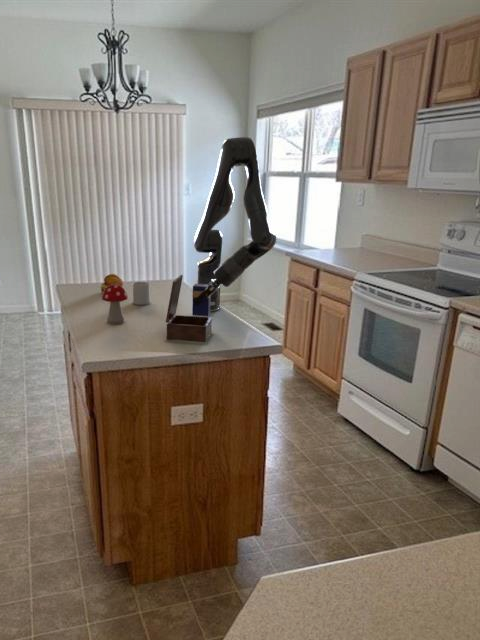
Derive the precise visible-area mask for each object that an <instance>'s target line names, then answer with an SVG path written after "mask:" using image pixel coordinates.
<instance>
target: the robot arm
mask: <svg viewBox="0 0 480 640" xmlns="http://www.w3.org/2000/svg"><path fill="white" fill-rule="evenodd" d="M237 167H244V168H245V169H244V170H245V171H246V177H247V178H246V185H245V189H244V193H243V206H244V210H245V214H246V217H247V220H248V225H249V232H250V233H249V234H250V238H251V241H250V242H249V243H247V244H245V245H242V246H240V247H239V248H238V249H237V250H236V251H235V252H234V253H233V254H232V255H231V256H229V257H228V258H227V259H226V260H224V261H223V262H222V263H221V261H222V252H223V251H222V249H223V234H222V232H221V231H220V230H219V229H213V228H214V227H215V226H216V225H217V224H219V223H220V222H221V221H222V220H224V218H225V217H226V216H228V214H229V212H230V211H231V208H232V205H233V202H234V199H235V191H234V187H233V185H232V182H231V174H232V172H233V169H234V168H237ZM215 171H216V172H215V176H214V180H213V183H212V186H211V190H210V192H209V195H208V198H207V202H206V205H205V209H204V212H203V215H202V217H201V221H200V223H199V225H198V227H197V230H196V232H195V234H194V235H195V236H194V240H193V246H194V250H195V251H196V252H197V253H200V254H209V255H208V256H207V257H206V258H204V259H203V260H199V261H198V262H197V284H208V285H207V286H206V287H205V288H204V291H203V292H202V293H201V294H200V295H199V296H198V297H197V298H196V299H195V300H194V301H193V300H192V303H193V302H194V303H195V304H196V305H199V304H200V303H201V302H202V301H203V300H204V299H206V298H207V297H208V296H209V295H211V300H210V312H216V311H218V310H219V309H220V307H221V305H220V303H221V285H222V286H224V287H226V288H228V287H230V286H231V285H232V284H233V283H234V282H235V281H236V280H237V279H239V278H240V277H241V276H242V275H243V274H244V272H245V271H247V269H248V268H249V267H251V266H252V265H253V264H254V262H256V261H257V260H259V259H260V258H261V257H263V256H264V255H266V254H267V253H269V252H270V251H271V250H272V249H273V248H274V247H275V245H276V243H277V235H276V233H275V232H274V231H273V230H271V229H270V225H269V221H268V218H269V214H268V209H267V205H266V202H265V199H264V194H263V191H262V186H261V178H260V177H261V176H260V169H259V161H258V153H257V148H256V144H255V142H254V140H253V139H252V138H251V137H249V136H240V137H230V138H227V139H225V140H224V141H223V143H222V145H221V147H220V151H219V157H218V161H217V167H216V170H215ZM204 292H206V293H207V294H208V295H207V296H206V295H205V294H204Z"/></svg>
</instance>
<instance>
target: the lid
mask: <svg viewBox="0 0 480 640" xmlns="http://www.w3.org/2000/svg"><path fill="white" fill-rule="evenodd" d="M183 278H184V274H180V275H179V276H177V277H176V278H175V279H174V280H173V281H172V284H171V289H170V295H169V301H168V306H167V311H166V312H167V313H166V317H165V323H166V324H167V323H168V322H169V321H170V320H171V319H172V318H173V316H174V315H177V310H178V304H179V298H180V295H181V294H180V293H181V288H182V283H183Z"/></svg>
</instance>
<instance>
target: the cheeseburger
mask: <svg viewBox="0 0 480 640" xmlns="http://www.w3.org/2000/svg"><path fill="white" fill-rule="evenodd" d="M112 284H117V285H120V286H122V287H124V281H123V280H122V279H121V278H120V277H119V276H118V275H117V274H115V273H109V274H107V275H106V276H105V277H104V278H103V283H101V284H100V286H99V287H100V291H101V293H103V292H104V290H105V289H106V287H108V286H109V285H112Z"/></svg>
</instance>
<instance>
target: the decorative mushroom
mask: <svg viewBox="0 0 480 640" xmlns="http://www.w3.org/2000/svg"><path fill="white" fill-rule="evenodd" d="M128 298H129V297H128V293H127V292H126V290H125V288H124V286H120V285H117V284H112V285H109V286H108V287H106V289H105V290H104V292H102V295H101V300H102V301H104V302H107V303H108V302H109V308H108V315H107V318H106V322H107V324H109V325H120V324H121V325H122V324H123V323H124V322H125V316H124V315H123V311H122V307H121V302H124V301H126V300H128Z"/></svg>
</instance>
